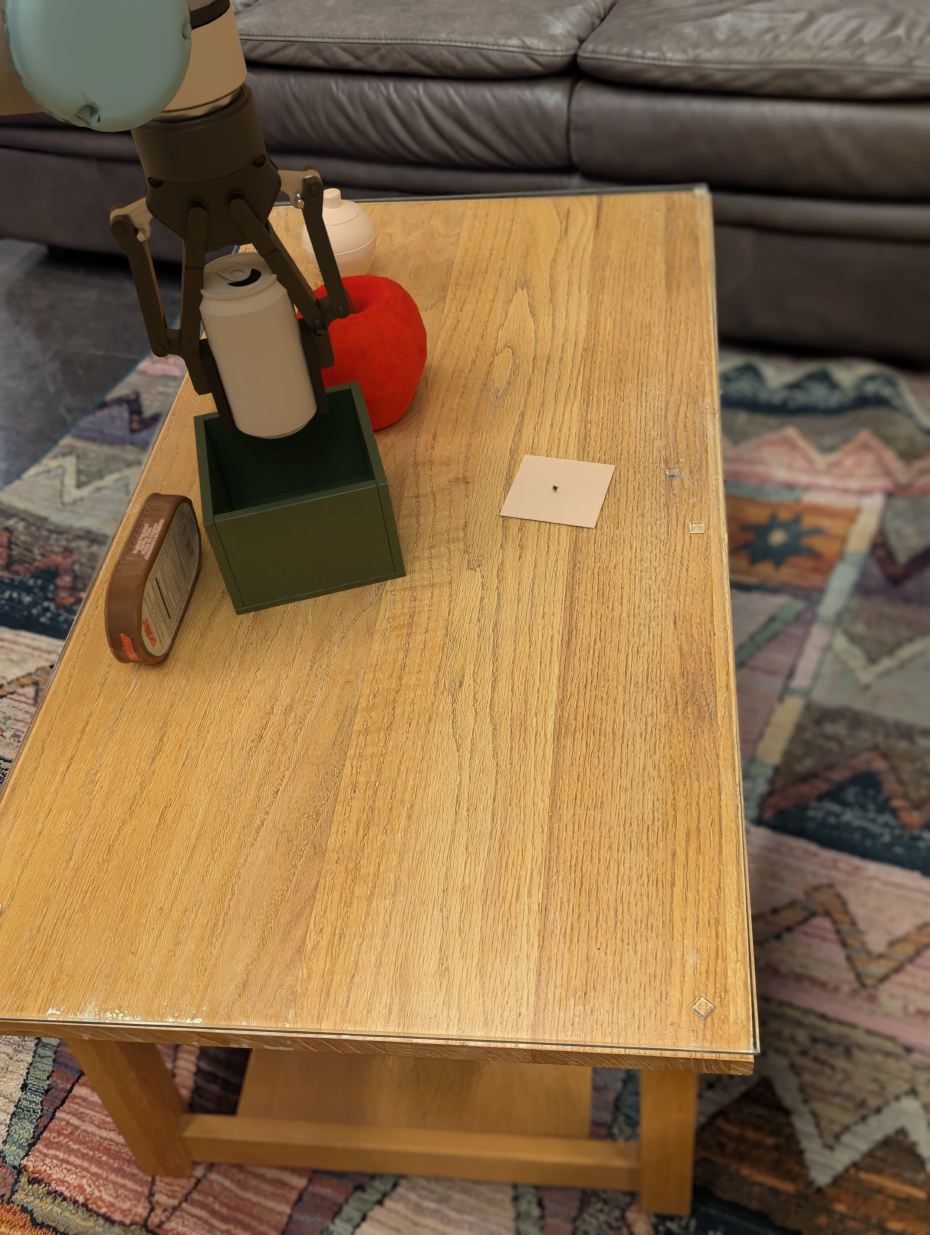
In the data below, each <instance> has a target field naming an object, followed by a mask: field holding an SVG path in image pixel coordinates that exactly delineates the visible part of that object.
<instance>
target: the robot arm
mask: <svg viewBox="0 0 930 1235" xmlns="http://www.w3.org/2000/svg"><path fill="white" fill-rule="evenodd" d="M247 76H248V70H247V65H246V60H245V56H244V52H243V48H242V43H241V39H240V34H239V30H238V26H237V20H236V16H235V13H234V9H233V5H232V1H231V0H0V117H1V116H11V115H12V116H13V115H22V114H23V115H25V114H32V113H34V114H35V113H46V114H48V115H49V116H51V117H52V118H54V119H55V120H58V121H60V122H62V123H65V124H70V125H74V126H77V127H81V128H82V127H85V128H89V129H91V130H94V131H98V132H103V133H104V132H106V133H107V132H108V133H116V132H123V131H129V130H130V132H131V136H132V138H133V141H134V146H135V148H136V151H137V154H138V157H139V160H140V163H141V166H142V169H143V172H144V175H145V178H146V186H145V191H144V194H145V195H144V197H142V198H140V199H138V200H136V201H135V202H132V203H130V204H128V205H126V204H124V203H120V202H118V203H114V204H113V205H112V206H111V208H110V216H109V222H110V232H111V235H112V236H113V238H114V239H115V241H116V242H117V243H118V245H119V246H120V248H121V249H122V251H123V252H124V253H125V255H126V257H127V259H128V264H129V268H130V271H131V272H130V273H131V275H132V280H133V283H134V287H135V290H136V294H137V299H138V303H139V307H140V310H141V314H142V319H143V322H144V327H145V330H146V334H147V338H148V342H149V346H150V349H151V352H152V354H153V355H154V356H155V357H158V358H166V357H167V356H169V355H171V356H177V357H178V358H179V357H180V358H181V359H182V360H183V362H184V365H185V367H186V370H187V373H188V376H189V379H190V382H191V384H192V388H193V390H194V392H195V393H196V394H197V395H198V396H204V395H209V394H211V396H212V399H213V403H214V405H215V409H216V411H218V414H219V417H220V421H221V424H222V427H223V430H224V433H225V436H227V435H231V434H236V433H235V425H234V421H233V418H232V415H231V412H230V409H229V406H228V403H227V400H226V397H225V393H224V390H223V387H222V384H221V381H220V378H219V375H218V372H217V368H216V365H215V362H214V359H213V356H212V353H211V350H210V347H209V343H208V340H207V337H203V338H201V325H202V321H201V312H200V305H201V302H202V294H201V291H200V290H203V275H204V268H205V265H206V254H208V253H212V252H216V251H219V250H221V249H223V248H225V247H227V246H247V245H252V246H253V248H254V250H255V252H258V254H259V255H260V256H261V257H263V259H264V260H265V262H266V263H267V265H268V266H269V267H270V269H271V270H272V272H273V273H274V275H275V274H276V275H277V279H278V281H279V282H280V284H281V285H282V286H283V287H284V288H285V289H286V290H287V294H288V296H289V297H290V299H291V300H292V302H293V303H294V307H295V309H297V310H298V311H299V312H300V314H301V315H302V317H303V318H298V323H299V327H300V332H301V336H302V340H303V344H304V348H305V353H306V357H307V361H308V365H309V369H310V373H311V377H312V381H313V385H314V389H315V394H316V398H317V402H318V406H319V410H320V414H321V415H322V414H327V413H331V412H330V408H329V403H328V399H327V395H326V391H325V386H324V382H323V378H322V374H321V369H323V368H328V367H333V366H334V361H335V358H334V354H333V349H332V345H331V340H330V336H329V330H328V329H329V325H330V324H331V323H332V322H333V321H334V320H336V319H338V318H339V319H345V318H347V317H348V316H349V315H350V312H351V311H350V306H349V303H348V299H347V296H346V292H345V289H344V286H343V283H342V279H341V276H340V273H339V269H338V266H337V263H336V259H335V256H334V253H333V250H332V246H331V243H330V240H329V236H328V233H327V230H326V226H325V223H324V220H323V217H322V213H323V198H324V190H325V188H324V184H323V181H322V178H321V174H320V171H319V169H318V167H316V166H315V165H312V164H306V165H304V166H303V167H302V168H301V170H300V171H299V170H287V169H286V170H285V169H279V168H278V166H277V164H276V163H275V162H274V161H273V160H272V159H271V157H270V156H269V153H268V152H267V148H266V144H265V139H264V136H263V132H262V127H261V122H260V119H259V115H258V110H257V107H256V101H255V97H254V94H253V93H254V92H253V90H252V88H251V87H250V85H248V84H246V83H245V81H246V79H247ZM280 192H282V193H285V194H286V195H287V196H288V198H289V202H290V205H291V206H292V207H293V208H295V209H297V210H301V214H302V217H303V221H304V223H305V225H306V228H307V232H308V235H309V238H310V241H311V244H312V247H313V250H314V254H315V257H316V260H317V263H318V266H319V269H320V272H321V273H320V272H319V273H320V276H321V279H322V283H323V284H324V285H325V288H326V291H327V295H326V296H324V297H322V298H320V299H318V298H317V296H316V294H315V293H314V291H313V290H314V289H313V288H312V287H311V285H310V284H309V282H308V281H307V279H306V277H305V275H304V274H303V273H302V271H301V269H300V268H299V267H298V265H297V263H296V262H295V261H294V259H293V257H292V256H291V254H290V253H289V251H288V249H287V248H286V246H285V245H284V244H283V242H282V240H281V239H280V237H279V236H278V234H277V233H276V231H275V228H274V226H273V225H272V223H271V221H270V219H269V217H270V215H271V212H272V210H273V208H274V206H275V204H276V201H277V199H278V196H279V194H280ZM153 218H154V219H156V220H158V222H160V223H161V224H162V225H164V226H165V227H166V228H167V229H168V230H170V231H172V233H173V234H175V235H176V236H178V237H179V238H180V239H182V265H181V270H182V271H181V287H180V288H181V289H180V308H179V309H180V310H179V327H178V328H171V327H169V326H168V322H167V318H166V314H165V309H164V306H163V302H162V301H163V300H162V297H161V293H160V292H161V291H160V288H159V284H158V280H157V276H156V273H155V268H154V264H153V259H152V254H151V251H150V247H149V243H148V240H149V238H150V237H151V230H152V229H151V223H150V221H151V220H152V219H153Z"/></svg>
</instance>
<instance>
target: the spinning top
mask: <svg viewBox="0 0 930 1235" xmlns="http://www.w3.org/2000/svg"><path fill="white" fill-rule="evenodd" d="M322 217H323V220H324V223H325V226H326V230H327V233H328V236H329V240H330V243H331V246H332V250H333V253H334V256H335V259H336V263H337V266H338V269H339V273H340V276H341V277H349V276H357V275H366V274H367V272H368V269H369V268H370V266H371V263H372V261H373V259H374V258H373V257H374V254H375V252H376V248H377V243H378V232H377V226H376V225H375V222H374V220H373V218H372V217H371V215H370V214H369V213H368V212H367V211H366V210H365V209H364V208H363V207H361V206H359V204H358V203H356V202H354V201H352V200H348V199H342V196H341V190H340V189H338V188H327V189H324V198H323V213H322ZM300 236H301V245H302V248H303V251H304V254H305V256H306V257H307V259H308V260H309V261H310V263H311V264H312V265H313V266H314V267H315V268H316V269H317V271H318V272H319V273H320V274H321V272H320V269H319V266H318V263H317V260H316V257H315V254H314V250H313V247H312V244H311V241H310V238H309V235H308V232H307V228H306V225H305V222H304V224H303V226H302V229H301V235H300Z"/></svg>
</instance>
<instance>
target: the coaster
mask: <svg viewBox="0 0 930 1235" xmlns="http://www.w3.org/2000/svg"><path fill="white" fill-rule="evenodd" d="M615 469H616V465H615V464H608V463H598V462H590V461H584V460H583V461H582V460H574V459H566V458H557V457H549V456H540V455H539V456H538V455H532V454H524V456H523V458H522V461H521V462H520V465H519V467H518V470H517V472H516V475H515V477H514V479H513V481H512V484H511V487H510V489H509V491H508V493H507V496H506V498H505V500H504V503H503V505H502V507H501V510H500V511H499V512H500V513H499V514H498V515H499V516H501V517H502V516H503V517H510V518H517V519H524V520H531V521H532V520H533V521H540V522H547V523H555V524H561V525H569V526H570V525H571V526H576V527H583V528H589V529H590V528H591V529H595V528H596V525H597V521H598V518H599V516H600V513H601V510H602V506H603V505H604V501H605V497H606V495H607V493H608V492H607V491H608V490H609V486H610V483H611V480H612V477H613V474H614V471H615Z"/></svg>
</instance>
